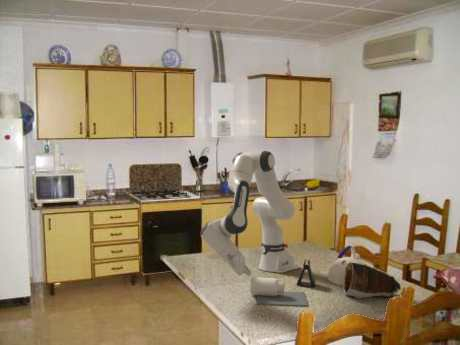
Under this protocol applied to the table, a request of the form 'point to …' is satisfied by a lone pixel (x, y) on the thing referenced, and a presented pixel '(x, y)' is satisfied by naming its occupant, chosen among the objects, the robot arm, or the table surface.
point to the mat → (283, 299)
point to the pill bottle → (266, 286)
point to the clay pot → (368, 282)
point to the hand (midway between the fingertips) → (250, 274)
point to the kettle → (342, 266)
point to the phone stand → (312, 280)
